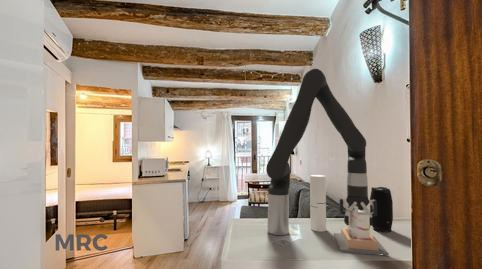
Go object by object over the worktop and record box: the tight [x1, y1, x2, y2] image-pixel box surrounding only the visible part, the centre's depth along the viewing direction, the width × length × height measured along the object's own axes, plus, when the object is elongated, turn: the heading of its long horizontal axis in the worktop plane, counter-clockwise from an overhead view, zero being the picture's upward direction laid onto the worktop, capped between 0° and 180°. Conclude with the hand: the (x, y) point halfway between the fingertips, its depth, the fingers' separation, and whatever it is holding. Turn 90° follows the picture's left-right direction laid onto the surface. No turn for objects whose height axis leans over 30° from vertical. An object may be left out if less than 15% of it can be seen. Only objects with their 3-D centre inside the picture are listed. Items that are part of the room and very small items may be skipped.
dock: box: [333, 227, 390, 256], centre depth 99 cm, size 16×18×4 cm
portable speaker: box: [369, 186, 394, 233], centre depth 117 cm, size 9×9×20 cm
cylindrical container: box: [309, 174, 327, 232], centre depth 118 cm, size 7×7×25 cm
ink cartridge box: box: [347, 203, 371, 240], centre depth 99 cm, size 9×5×15 cm, turn 2°
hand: (357, 225), depth 99 cm, fingers open, 7 cm apart
